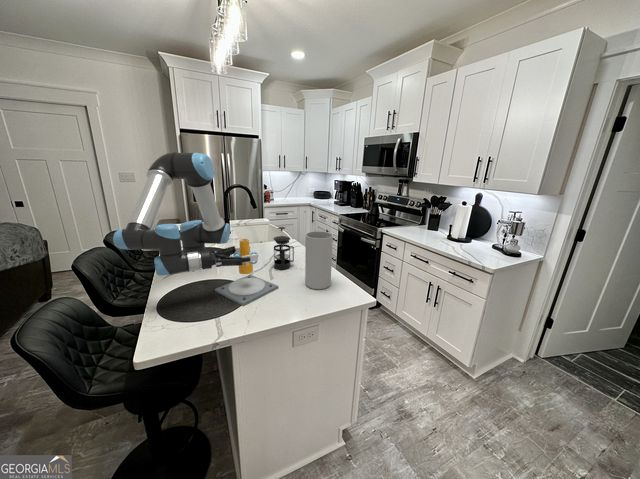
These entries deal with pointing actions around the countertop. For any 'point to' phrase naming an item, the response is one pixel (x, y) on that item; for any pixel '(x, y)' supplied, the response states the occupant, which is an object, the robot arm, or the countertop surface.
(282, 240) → the french press
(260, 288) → the grey plate with disc
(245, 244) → the orange ringed tube
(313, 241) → the cylinder vase
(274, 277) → the countertop surface
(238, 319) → the countertop surface
